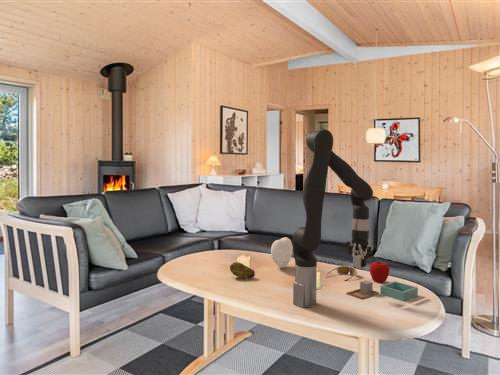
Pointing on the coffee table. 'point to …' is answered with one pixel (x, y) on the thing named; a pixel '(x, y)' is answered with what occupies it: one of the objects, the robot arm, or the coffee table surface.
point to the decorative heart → (282, 252)
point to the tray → (361, 294)
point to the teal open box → (399, 291)
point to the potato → (242, 271)
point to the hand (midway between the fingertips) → (359, 265)
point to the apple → (379, 271)
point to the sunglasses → (345, 271)
